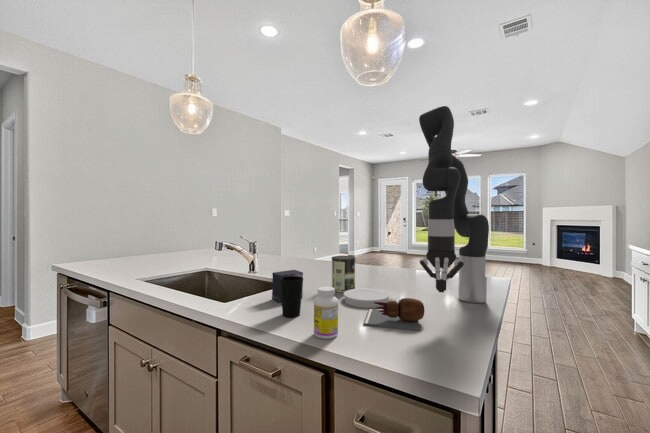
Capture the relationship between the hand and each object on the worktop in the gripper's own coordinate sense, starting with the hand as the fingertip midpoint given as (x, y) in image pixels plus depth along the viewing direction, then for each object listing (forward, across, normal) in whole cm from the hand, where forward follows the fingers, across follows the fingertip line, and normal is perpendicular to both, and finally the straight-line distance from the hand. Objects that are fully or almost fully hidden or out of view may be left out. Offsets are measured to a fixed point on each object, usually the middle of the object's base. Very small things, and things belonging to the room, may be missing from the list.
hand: (440, 291), depth 93 cm
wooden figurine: (+6, +5, 0) cm, 8 cm away
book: (+10, +14, 0) cm, 18 cm away
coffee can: (+10, +36, -33) cm, 50 cm away
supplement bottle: (+10, +32, +17) cm, 37 cm away
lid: (+10, +23, -19) cm, 32 cm away
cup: (+10, +46, +4) cm, 48 cm away
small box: (+10, +54, -14) cm, 57 cm away
